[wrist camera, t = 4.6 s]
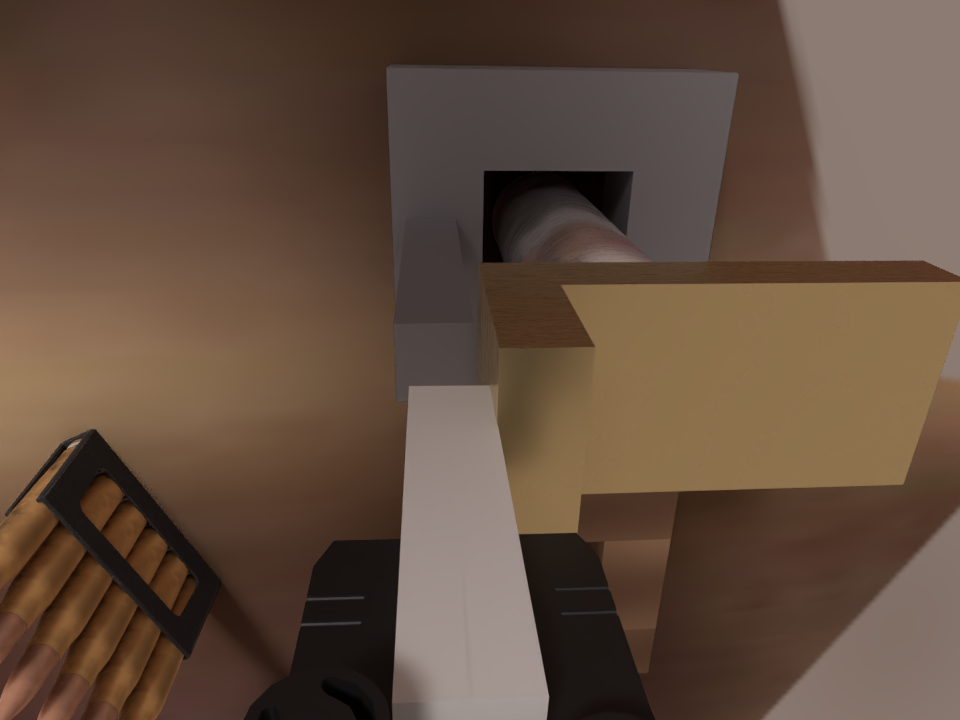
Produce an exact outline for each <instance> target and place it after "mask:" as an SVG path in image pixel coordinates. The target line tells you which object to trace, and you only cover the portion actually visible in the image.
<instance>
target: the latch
mask: <svg viewBox="0 0 960 720" xmlns="http://www.w3.org/2000/svg"><path fill="white" fill-rule="evenodd" d="M959 318H960V276H957V275H955V274H953V273H950V272H948V271H946V270H943V269H941V268H939V267H937V266H934V265H932V264H930V263H927V262H925V261H749V262H554V263H479V283H478V344H477V386H481V385H490V391H491V396H492V401H493V406H494V412H495V417H496V422H497V425H498V428H499V434H500V439H501V444H502V450H503V455H504V460H505V466H506V471H507V476H508V481H509V487H510V492H511V497H512V503H513V508H514V513H515V519H516V524H517V529H518V534H546V533H577V534H578V523H579V513H580V503H581V494H605V493H639V492H672V491H705V490H738V489H771V488H804V487H837V486H870V485H903V484H904V481H905V478H906V475H907V472H908V469H909V466H910V463H911V460H912V457H913V454H914V451H915V448H916V445H917V442H918V439H919V436H920V433H921V430H922V428H923V425H924V422H925V419H926V416H927V413H928V410H929V407H930V404H931V401H932V398H933V395H934V392H935V389H936V386H937V383H938V380H939V377H940V374H941V371H942V368H943V365H944V362H945V360H946V356H947V354H948V351H949V348H950V345H951V342H952V339H953V336H954V333H955V330H956V327H957V324H958V321H959Z"/></svg>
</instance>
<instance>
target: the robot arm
mask: <svg viewBox="0 0 960 720" xmlns="http://www.w3.org/2000/svg"><path fill="white" fill-rule="evenodd" d="M244 720H655V718H654V716H653V713H652V711H651V709H650V706H649V703H648V700H647V698H646V695H645V692H644V689H643V686H642V683H641V680H640V677H639V674H638V671H637V668H636V665H635V662H634V659H633V656H632V653H631V650H630V647H629V644H628V641H627V638H626V635H625V632H624V630H623V627H622V624H621V621H620V618H619V615H617V612H616V606H615V603H614V600H613V597H612V594H611V591H609V589H608V582H607V579H606V576H605V573H604V570H603V567H602V565H601V562H600V559H599V556H598V555H597V554H596V553H595V552H594V551H593V550H592V549H591V548H590V547H589V545H588V544H587V543H586V542H585V541H584V540H583V539H582V538H581V537H580V536H579V535H578V534H577V533H546V534H518V529H517V524H516V519H515V513H514V508H513V503H512V497H511V492H510V487H509V481H508V476H507V471H506V466H505V460H504V455H503V450H502V444H501V439H500V434H499V428H498V425H497V422H496V417H495V412H494V406H493V401H492V396H491V391H490V385H481V386H409V396H408V414H407V433H406V452H405V470H404V489H403V508H402V526H401V539H388V540H346V541H333V543H332V544H331V545H330V546H329V548H328V549H327V550H326V551H325V553H324V554H323V555H322V556H321V558H320V559H319V560H318V561H317V563H316V564H315V565H314V567H313V571H312V576H311V581H310V585H309V590H308V594H307V602H306V603H305V608H304V613H303V617H302V625H301V628H300V631H299V635H298V640H297V644H296V649H295V654H294V658H293V663H292V667H291V672H290V676H288V677H286V678H284V679H282V680H280V681H278V682H277V683H275V684H273V685H271V686H270V687H269V688H268V689H267V690H266V691H265V692H264V693H263V694H262V695H261V696H260V697H259V698H258V699H257V700H256V701H255V702H254V703H253V704H252V705H251V706H250V708H249V710H248V712H247V714H246V716H245V719H244Z"/></svg>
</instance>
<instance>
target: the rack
mask: <svg viewBox="0 0 960 720" xmlns="http://www.w3.org/2000/svg"><path fill="white" fill-rule="evenodd" d="M678 495H679V491H672V492H639V493H605V494H581V503H580V513H579V523H578V535H579V536H580V537H581V538H582V539H583V540H584V541H585V542H586V543H587V544H588V545H589V547H590V548H591V549H592V550H593V551H594V552H595V553H596V554H597V555H598V556H599V559H600V562H601V565H602V567H603V570H604V573H605V576H606V579H607V582H608V589H609V591H611V594H612V597H613V600H614V603H615V606H616V612H617V615H619V618H620V621H621V624H622V627H623V630H624V632H625V635H626V638H627V641H628V644H629V647H630V650H631V653H632V656H633V659H634V662H635V665H636V668H637V671H638V673H648V671H649V665H650V659H651V653H652V647H653V641H654V635H655V630H656V624H657V618H658V612H659V606H660V600H661V594H662V589H663V583H664V577H665V571H666V565H667V559H668V553H669V548H670V542H671V536H672V530H673V524H674V518H675V512H676V506H677V501H678Z"/></svg>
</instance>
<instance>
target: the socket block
mask: <svg viewBox="0 0 960 720" xmlns="http://www.w3.org/2000/svg"><path fill="white" fill-rule="evenodd" d="M738 76H739V73H732V72H721V71H710V70H700V69H651V68H588V67H526V66H463V65H401V64H391V65H390V66H388V67H386V77H387V103H388V129H389V155H390V181H391V207H392V233H393V259H394V284H395V316H394V347H395V371H396V396H397V402H408V396H409V386H477V344H478V283H479V263H482V250H483V196H484V171H605V180H604V190H603V201H602V212H601V213H602V214H603V215H604V216H605V217H606V218H607V219H608V220H609V221H610V222H611V223H613V224H614V225H615V226H616V227H617V228H618V229H619V230H620V231H621V232H622V233H623V234H624V235H625V236H626V237H627V238H628V239H629V240H630V241H631V242H632V243H633V244H634V245H635V246H637V247H638V248H639V249H640V250H641V251H642V252H643V253H644V254H645V255H646V256H647V257H648V258H649V259H650V260H651V261H652V262H708V259H709V253H710V246H711V240H712V234H713V228H714V222H715V216H716V210H717V204H718V198H719V192H720V186H721V179H722V173H723V167H724V161H725V155H726V149H727V143H728V137H729V131H730V125H731V118H732V112H733V106H734V100H735V94H736V88H737V82H738Z"/></svg>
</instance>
